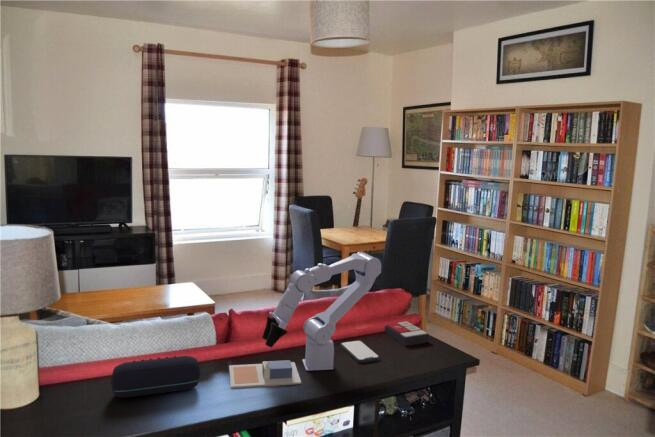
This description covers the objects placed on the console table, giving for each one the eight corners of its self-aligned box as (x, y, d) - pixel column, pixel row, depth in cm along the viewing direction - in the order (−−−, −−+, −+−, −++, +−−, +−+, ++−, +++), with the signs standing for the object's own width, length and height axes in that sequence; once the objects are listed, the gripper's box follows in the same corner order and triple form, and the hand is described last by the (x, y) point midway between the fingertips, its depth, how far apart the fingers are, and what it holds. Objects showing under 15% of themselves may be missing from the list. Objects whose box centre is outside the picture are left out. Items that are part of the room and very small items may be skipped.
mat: (294, 363, 178) (294, 361, 178) (301, 383, 165) (301, 382, 165) (229, 367, 174) (229, 365, 173) (230, 388, 160) (230, 386, 160)
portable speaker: (197, 378, 166) (197, 348, 164) (201, 393, 156) (201, 362, 155) (111, 389, 156) (111, 358, 155) (111, 406, 147) (110, 373, 145)
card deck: (289, 369, 173) (289, 360, 172) (291, 377, 167) (292, 367, 167) (262, 371, 171) (262, 361, 170) (263, 379, 165) (264, 369, 165)
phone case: (339, 346, 195) (358, 364, 181) (339, 342, 195) (358, 360, 181) (360, 343, 199) (380, 361, 184) (360, 339, 199) (381, 357, 184)
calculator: (407, 320, 215) (429, 332, 201) (406, 330, 215) (428, 342, 202) (384, 323, 210) (405, 336, 197) (384, 333, 211) (404, 346, 197)
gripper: (273, 295, 174) (253, 331, 173) (280, 304, 160) (258, 343, 159) (291, 304, 176) (271, 340, 175) (300, 314, 162) (278, 353, 161)
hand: (266, 342), depth 167 cm, fingers open, 7 cm apart
